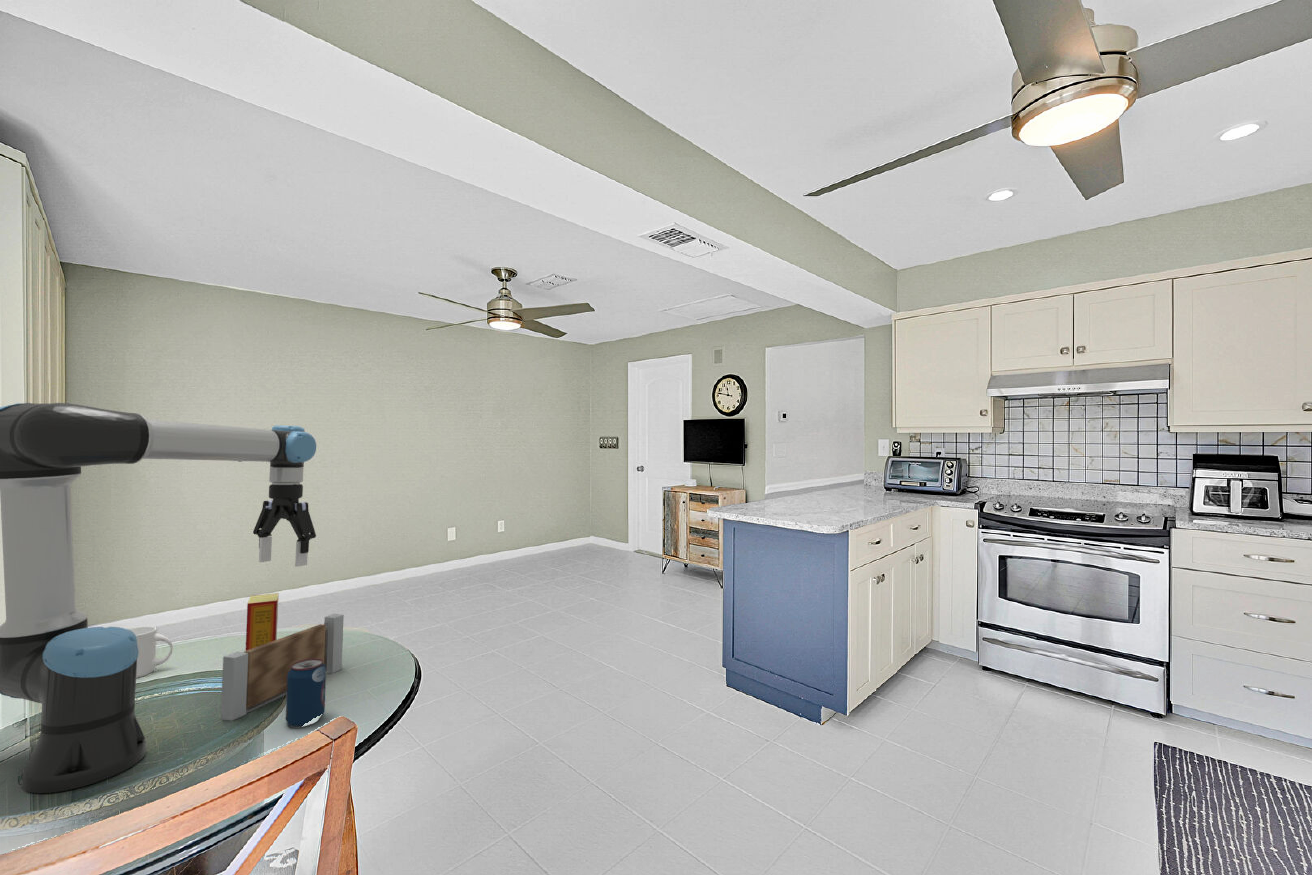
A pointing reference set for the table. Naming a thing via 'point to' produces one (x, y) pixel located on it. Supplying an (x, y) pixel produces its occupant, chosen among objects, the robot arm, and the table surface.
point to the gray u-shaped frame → (238, 667)
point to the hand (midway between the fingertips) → (282, 563)
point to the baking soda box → (261, 620)
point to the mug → (148, 649)
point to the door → (282, 661)
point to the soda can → (305, 691)
